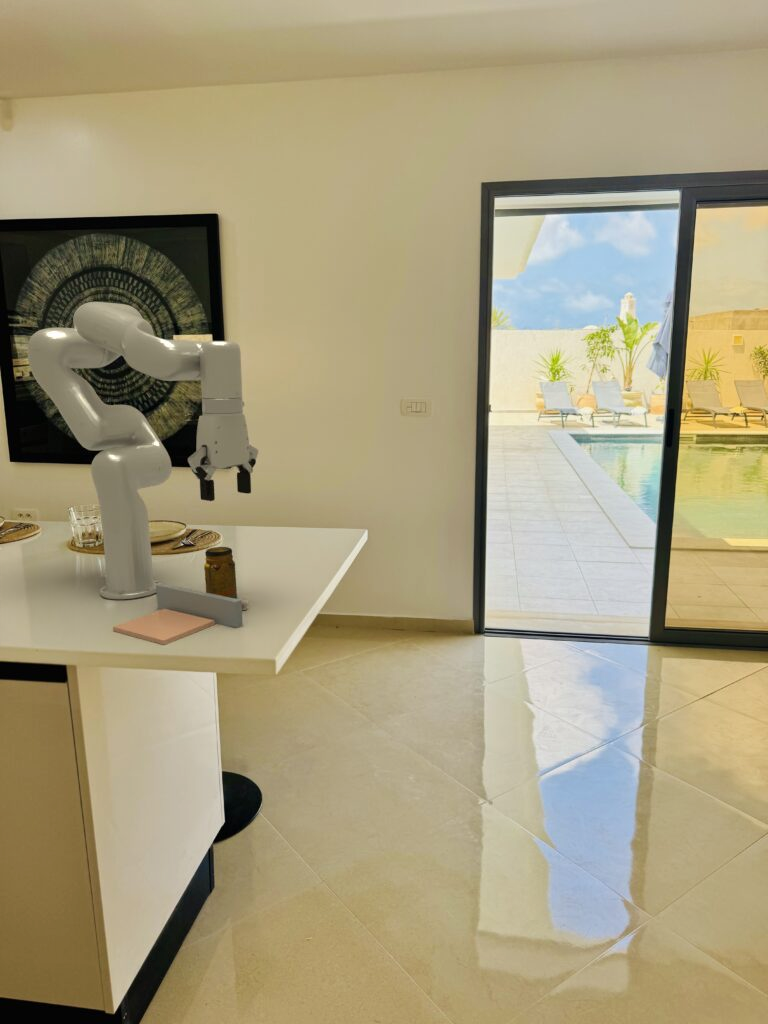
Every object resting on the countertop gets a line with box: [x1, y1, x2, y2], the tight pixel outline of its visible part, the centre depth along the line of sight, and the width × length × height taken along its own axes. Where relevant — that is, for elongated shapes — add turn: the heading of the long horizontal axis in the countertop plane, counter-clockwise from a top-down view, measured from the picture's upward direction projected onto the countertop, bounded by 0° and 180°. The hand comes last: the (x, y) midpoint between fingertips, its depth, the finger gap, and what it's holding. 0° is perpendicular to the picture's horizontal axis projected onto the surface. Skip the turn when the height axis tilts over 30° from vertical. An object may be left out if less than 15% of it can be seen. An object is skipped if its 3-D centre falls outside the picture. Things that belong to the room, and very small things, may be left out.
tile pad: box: [112, 609, 216, 646], centre depth 134 cm, size 14×12×1 cm
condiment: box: [203, 546, 250, 611], centre depth 145 cm, size 7×8×12 cm
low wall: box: [156, 583, 244, 629], centre depth 140 cm, size 22×2×5 cm, turn 57°
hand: (226, 496), depth 140 cm, fingers open, 9 cm apart
